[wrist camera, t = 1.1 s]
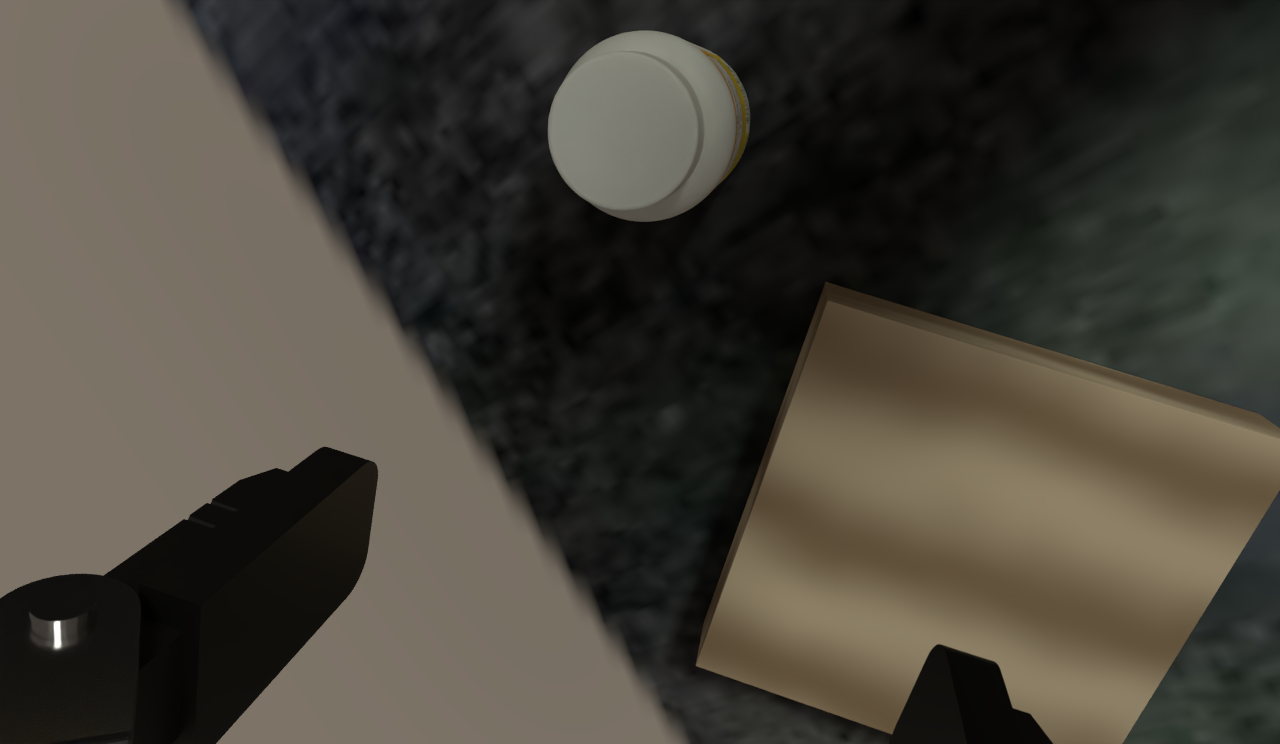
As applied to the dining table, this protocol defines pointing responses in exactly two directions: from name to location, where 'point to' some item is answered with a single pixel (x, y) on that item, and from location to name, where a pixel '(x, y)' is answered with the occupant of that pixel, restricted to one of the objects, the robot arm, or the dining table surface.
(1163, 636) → the birch plinth
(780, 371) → the dining table surface
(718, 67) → the supplement bottle
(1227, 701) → the dining table surface
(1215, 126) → the dining table surface
